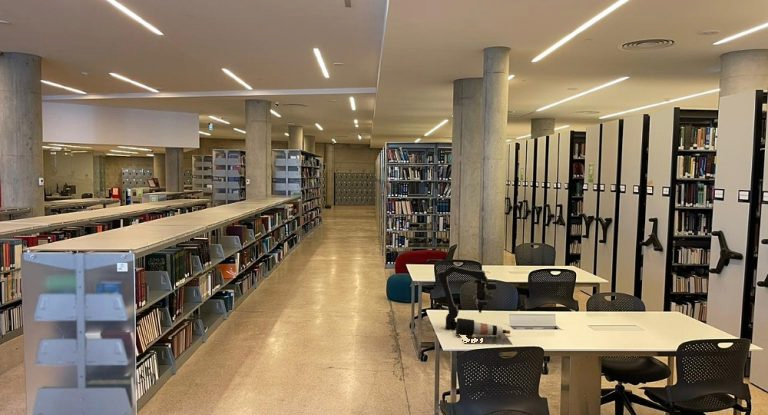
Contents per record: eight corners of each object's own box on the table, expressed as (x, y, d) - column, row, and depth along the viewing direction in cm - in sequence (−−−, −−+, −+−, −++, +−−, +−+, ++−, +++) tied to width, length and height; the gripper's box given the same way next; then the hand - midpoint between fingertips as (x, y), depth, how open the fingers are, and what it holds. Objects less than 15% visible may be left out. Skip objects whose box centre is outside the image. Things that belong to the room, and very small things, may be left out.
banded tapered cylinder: (509, 343, 343) (512, 331, 338) (456, 337, 343) (458, 325, 338) (507, 332, 352) (510, 320, 347) (455, 326, 352) (457, 314, 347)
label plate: (463, 343, 328) (463, 343, 327) (458, 332, 353) (458, 331, 353) (512, 344, 327) (512, 344, 327) (503, 332, 353) (503, 332, 353)
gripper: (495, 292, 347) (495, 316, 347) (490, 286, 365) (489, 309, 366) (478, 292, 347) (477, 316, 348) (473, 286, 365) (473, 309, 366)
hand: (480, 312), depth 357 cm, fingers closed
